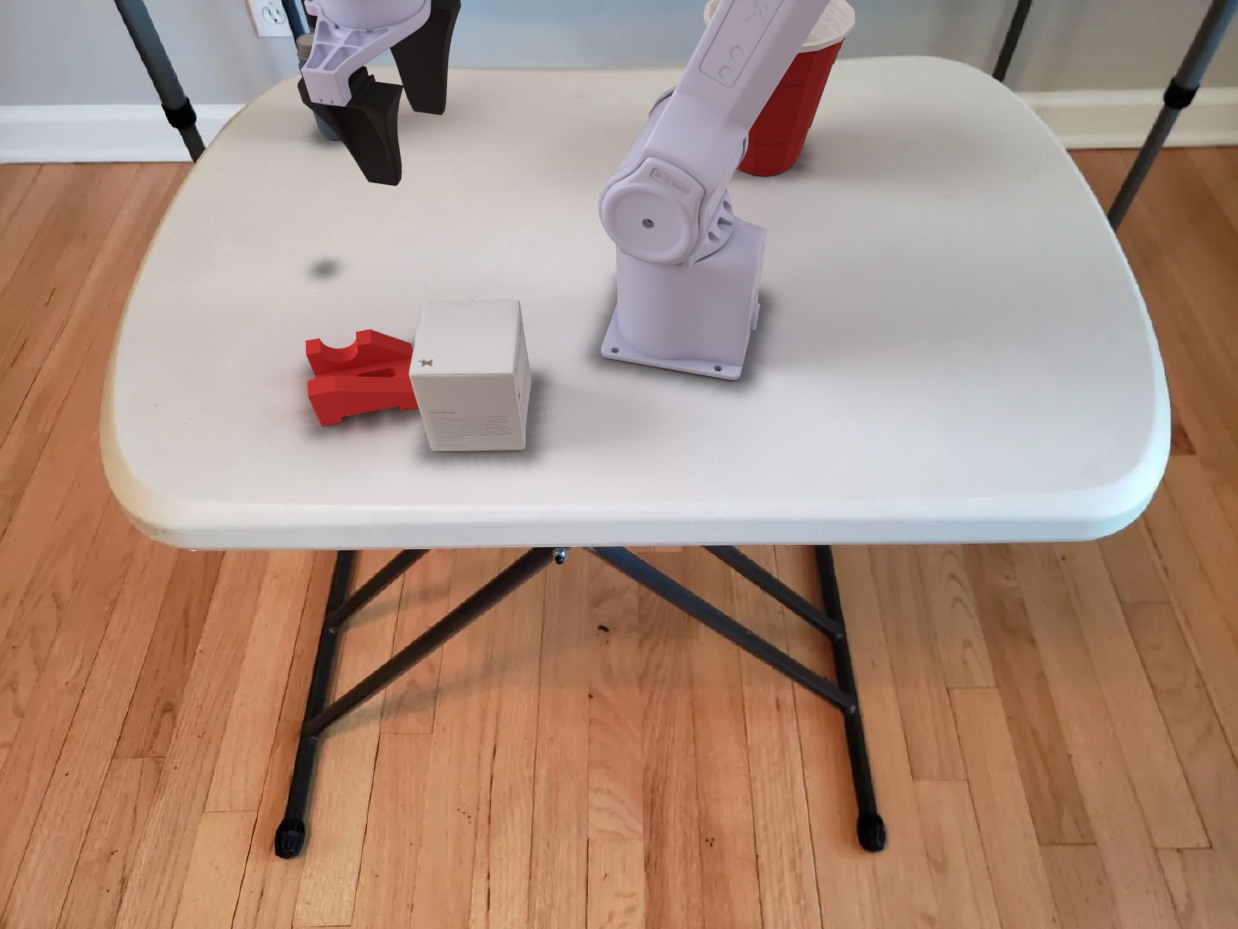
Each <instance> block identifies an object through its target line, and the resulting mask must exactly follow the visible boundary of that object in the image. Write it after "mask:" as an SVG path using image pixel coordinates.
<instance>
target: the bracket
mask: <svg viewBox="0 0 1238 929" xmlns="http://www.w3.org/2000/svg"><path fill="white" fill-rule="evenodd" d="M304 342H305V356H306V358H307V360H308V363H309V366H310V367H311V370H312V373H313V375H314V379H309V380H306V386H307V397H308V400H309V402H310V405H311V406H312V408H313V410H314V413H315V416H316V418H317V420H318V422H319V424H320V426H321V427H327V426H331V425H337V424H341V423H343V422H344V421H343V417H349V416H353V415H354V416H355V415H360V414H364V413H368V412H369V413H371V412H374V411H375V412H376V411H380V410H385V409H391V408H396V407H399V409H400V412H405V411H410V410H415V409H419V407H418V404H417V400H416V397H415V393H414V390H413V387H412V383H411V380H410V376H409V370H410V365H411V360H412V355H413V350H414V347H413V345H412V343H411V342H408V341H406V340H402V339H399V338H397V337H394V336H391V335H388V334H386V333H383V332H379V331H378V330H377V331H376V330H374V329H371V328H367V329H363V330H357V331H355V339H354V341H353V343H351V344H350V345H347V346H346V347H339V348H335V347H331V346H329V345H326V344H325V343H324V342H323V341H322V339H321V337H320V338H319V337H318V338H312V339H307V340H304Z"/></svg>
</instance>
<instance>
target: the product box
mask: <svg viewBox="0 0 1238 929" xmlns="http://www.w3.org/2000/svg"><path fill="white" fill-rule="evenodd" d="M530 366H531V365H530V361H529V353H528V348H527V342H526V334H525V328H524V321H523V314H522V306H521V301H520V300H518V299H508V300H507V299H494V300H493V299H492V300H490V299H489V300H455V301H453V300H451V301H423V302H422V304H421V310H420V314H419V320H418V325H417V330H416V333H415V337H414V346H413V355H412V360H411V365H410V370H409V376H410V380H411V383H412V387H413V390H414V393H415V397H416V400H417V404H418V407H419V408H418V411H419V414H420V417H421V420H422V423H423V427H424V431H425V433H426V438H427V440H428V444H429V447H430V450H431V451H433V452H472V451H473V452H474V451H523V450H524V451H525V449H526V446H527V422H528V421H527V420H528V411H529V404H530V396H531V388H532V383H533V381H532V380H533V378H532V373H531V367H530Z"/></svg>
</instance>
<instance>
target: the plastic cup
mask: <svg viewBox="0 0 1238 929" xmlns="http://www.w3.org/2000/svg"><path fill="white" fill-rule="evenodd" d="M719 2H720V0H708V1H707V2H706V3H705V6H704V11H703V15H702V16H703V17H702V18H703V22H704V24H705V25H706V27H707V26H708V24H709V22H710V20H711V18H712V16H713V14H714V12H715V10H716V8H717V6H718V4H719ZM855 24H856V10H855V9H854V8H853V6H851V5H850V3H848V2H847V1H846V0H831V1H830V2H829V4H828V5H827V7H826V9H825V10H824V12H823V13H822V15H821V17H820V18H819V20H818V21H817V23H816V25H815V26H814V28H813V29H812V31H811V33H810V34H809V36H808V37H807V39H806V41H805V42H804V44H803V45H802V47H801V48H800V50H799V52H798V53H797V55H796V56H795V58H794V60H793V61H792V63H791V64H790V66H789V68H788V69H787V71H786V72H785V74H784V76H783V77H782V79H781V80H780V82H779V84H778V85H777V87H776V88H775V90H774V92H773V93H772V95H771V96H770V98H769V99H768V101H767V103H766V104H765V106H764V107H763V109H762V111H761V112H760V114H759V115H758V117H757V119H756V120H755V122H754V123H753V125H752V127H751V128H750V130H749V132H748V147H747V151H746V154H745V156H744V158H743V160H742V161H741V163H740V165H739V167H738V168H737V169H738V170H739V171H741V172H743V173H745V174H749V175H752V176H759V177H760V176H761V177H770V176H777V175H781V174H783V173H785V172H787V171H789V170H791V169H792V168H793V166H794V165H795V164H796V163H797V161H798V158H799V157H800V156H801V153H802V151H803V147H804V144H805V142H806V140H807V136H808V132H809V130H810V129H811V127H812V126H813V124H814V123H813V122H814V119H815V117H816V114H817V111H818V108H819V105H820V102H821V99H822V97H823V94H824V91H825V89H826V86H827V83H828V79H829V77H830V74H831V71H832V68H833V67H834V65H835V63H836V60H837V57H838V54H839V52H840V50H842V46H843V43H844V41H845V40H846V37H847V36H848V35H849V34H850V33H851V32H852V30H853V29H854V26H855Z"/></svg>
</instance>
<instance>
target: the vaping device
mask: <svg viewBox="0 0 1238 929" xmlns="http://www.w3.org/2000/svg"><path fill="white" fill-rule="evenodd" d="M304 2H305V0H300V3H301V6H302V10H303V13H304V16H305V20H306V23H307V26H308V29H309V32H306V33H303V34H301V35H299V36H298V37H297V39H296V41H295V42H296V45H297V48H298V50H297V52H296V56H297V58H298V61H299V62H298V63H297V65H298V69H299V72H300V75H301V78H302V77H303V74H302V71H301V69H302V68H303V66H304V65H305V64H306V62H307V61H308V59H309V57H310V53H311V50H312V45H313V39H314V34H315V29H316V23H317V18H318V16H313V15H310V14H308V12H307V10H306V7H305V3H304ZM312 112H313V111H312ZM313 116H314V119H315V122H316V126H317V128H318V130H319V131H320V132H321V134H322V135H323V137H324V138H325V139H327V140H332V141H339V140H341V139H340V138H339V137H338V136H337V134H336V133H335V132H334V131H333V130H332V129H331V128H330V127H329V125H328V124H327V123H326V122H325V121H323V120H322V119H321V118H320V117H319V116H318V115H317V114H316V113H315V112H313Z"/></svg>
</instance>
